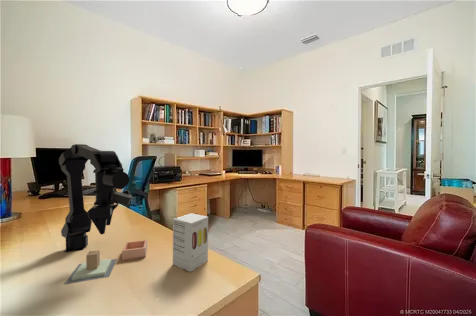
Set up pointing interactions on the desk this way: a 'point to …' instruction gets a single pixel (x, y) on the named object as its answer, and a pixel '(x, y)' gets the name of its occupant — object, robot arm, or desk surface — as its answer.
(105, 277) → the mat
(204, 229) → the supplement box
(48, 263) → the desk surface
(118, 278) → the desk surface
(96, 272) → the lid
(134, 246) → the dish
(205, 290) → the desk surface
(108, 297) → the desk surface
